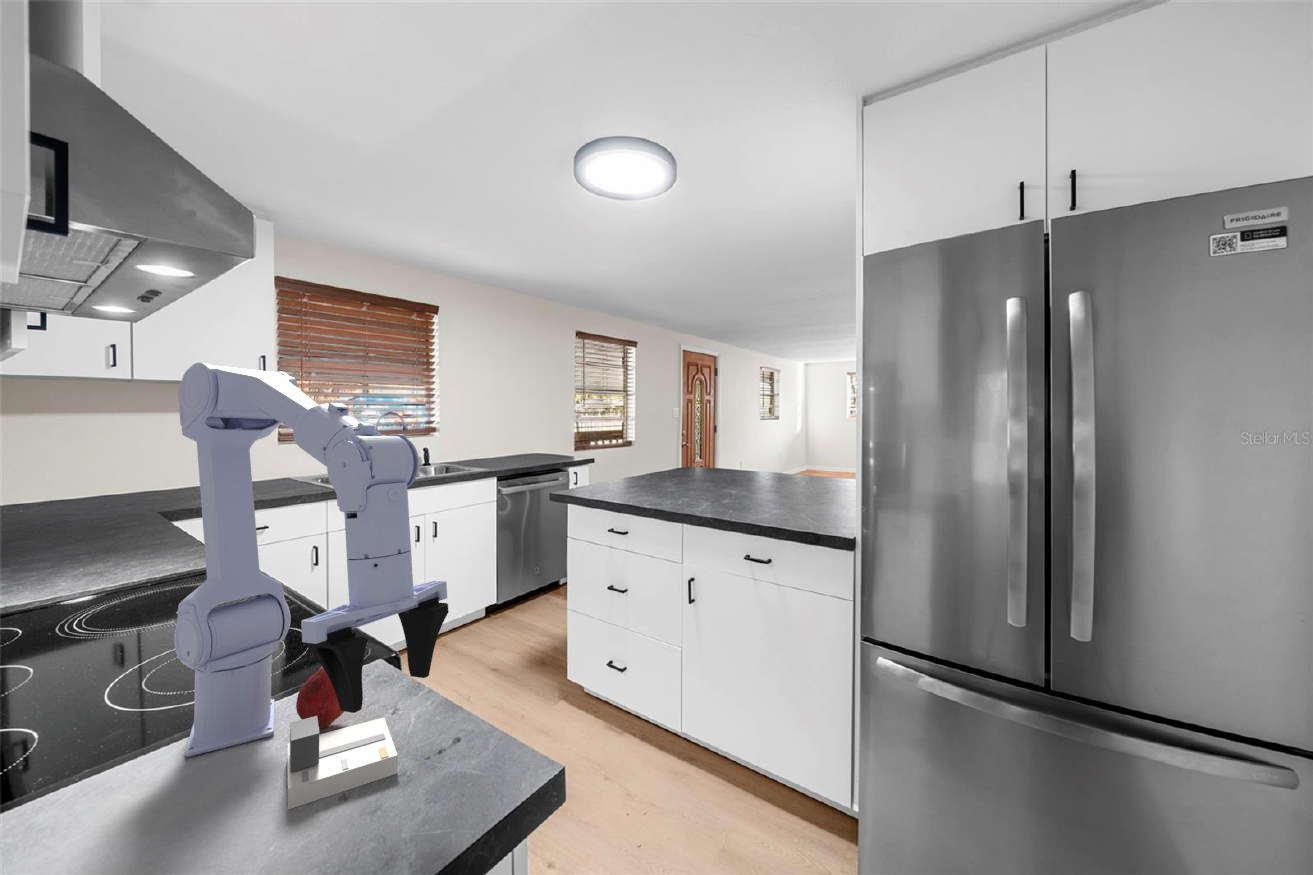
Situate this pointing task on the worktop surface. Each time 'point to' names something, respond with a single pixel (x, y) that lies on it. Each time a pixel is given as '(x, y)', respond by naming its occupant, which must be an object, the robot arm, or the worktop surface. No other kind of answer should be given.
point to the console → (344, 762)
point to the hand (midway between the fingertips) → (387, 692)
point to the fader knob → (304, 743)
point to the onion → (318, 700)
